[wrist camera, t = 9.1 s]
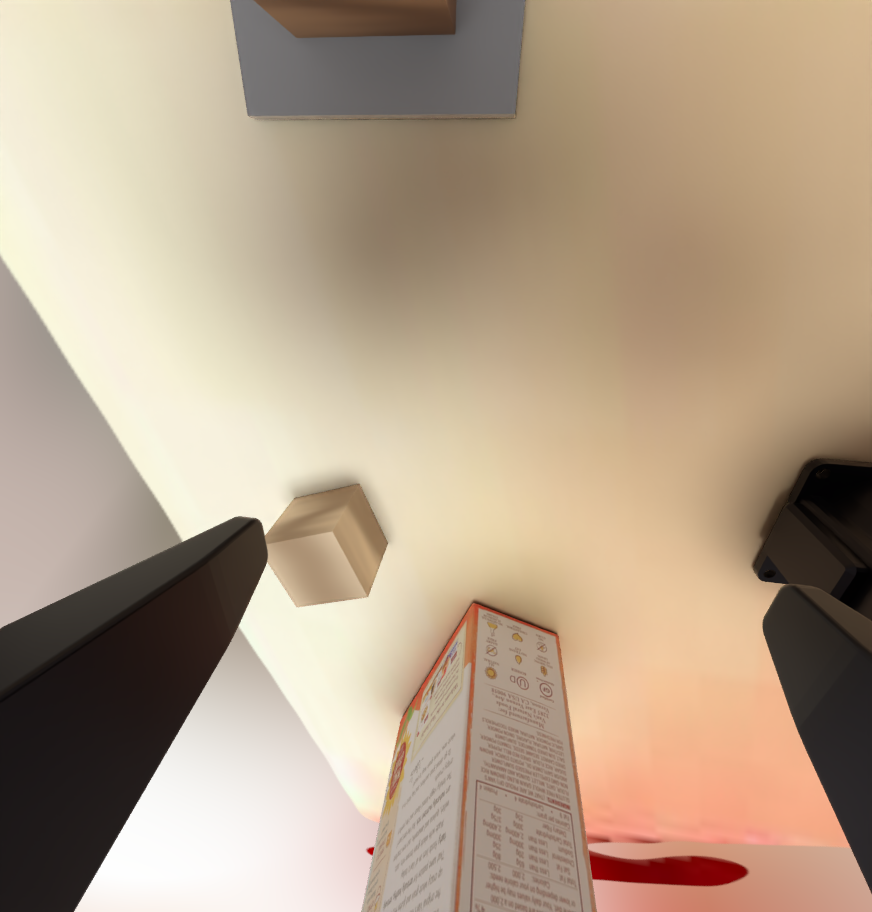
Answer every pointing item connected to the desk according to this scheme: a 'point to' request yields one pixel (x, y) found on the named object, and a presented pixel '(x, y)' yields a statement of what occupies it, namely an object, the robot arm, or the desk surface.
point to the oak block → (326, 547)
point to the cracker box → (485, 783)
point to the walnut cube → (363, 17)
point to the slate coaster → (383, 68)
